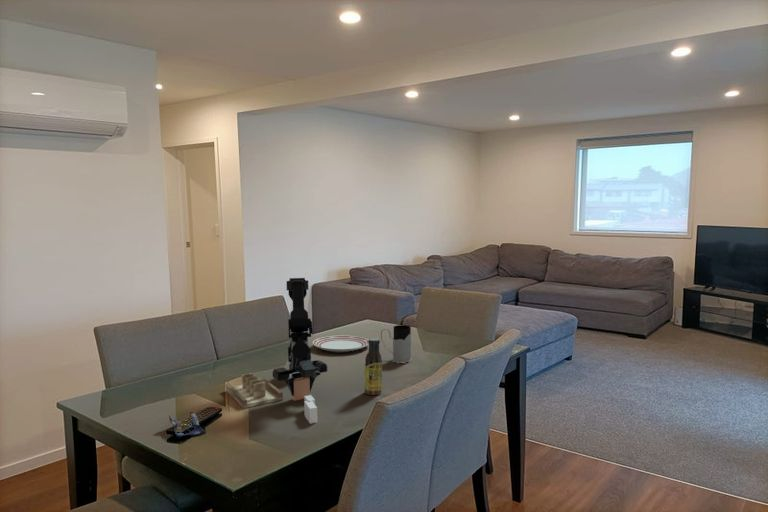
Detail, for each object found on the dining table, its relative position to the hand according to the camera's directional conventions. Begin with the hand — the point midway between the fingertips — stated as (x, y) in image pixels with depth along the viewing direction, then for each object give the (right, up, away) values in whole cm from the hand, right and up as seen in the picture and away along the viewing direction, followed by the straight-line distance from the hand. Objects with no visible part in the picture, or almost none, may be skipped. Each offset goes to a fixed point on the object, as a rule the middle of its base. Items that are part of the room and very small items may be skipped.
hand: (300, 393), depth 187 cm
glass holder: (+35, +3, +45) cm, 57 cm away
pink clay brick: (0, -2, 0) cm, 2 cm away
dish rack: (-17, -1, +3) cm, 18 cm away
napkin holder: (+6, -4, -15) cm, 17 cm away
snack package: (-30, -5, -27) cm, 41 cm away
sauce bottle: (+26, -1, +5) cm, 26 cm away
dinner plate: (+9, +4, +67) cm, 67 cm away
